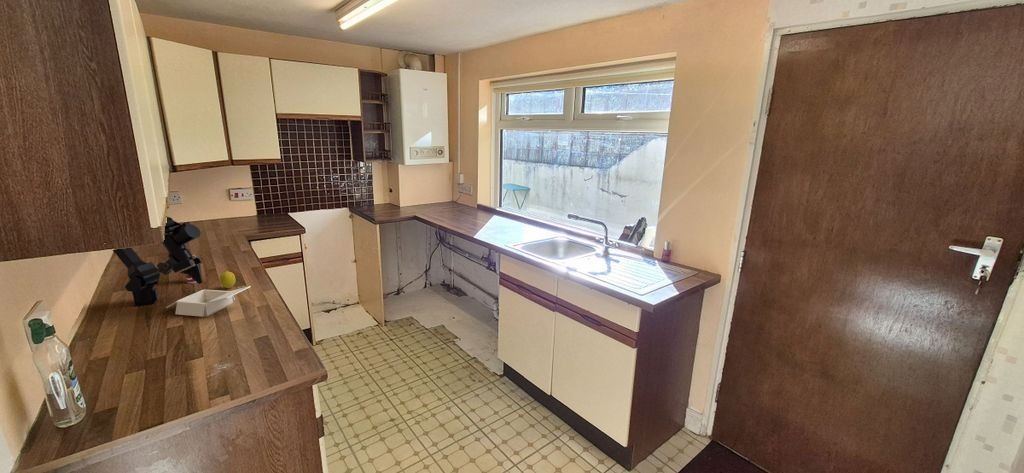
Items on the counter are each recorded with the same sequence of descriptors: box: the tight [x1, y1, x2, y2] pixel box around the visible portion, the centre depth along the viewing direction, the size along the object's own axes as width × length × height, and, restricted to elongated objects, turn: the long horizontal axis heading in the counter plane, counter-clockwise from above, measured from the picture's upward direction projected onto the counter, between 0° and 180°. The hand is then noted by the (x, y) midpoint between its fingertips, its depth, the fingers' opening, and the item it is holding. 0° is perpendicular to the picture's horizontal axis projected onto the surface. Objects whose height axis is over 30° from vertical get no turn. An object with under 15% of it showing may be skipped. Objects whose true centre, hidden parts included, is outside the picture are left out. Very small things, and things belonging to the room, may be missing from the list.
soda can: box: [184, 254, 197, 284], centre depth 185 cm, size 5×5×12 cm
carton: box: [165, 289, 236, 317], centre depth 159 cm, size 17×15×5 cm
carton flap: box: [207, 285, 251, 303], centre depth 156 cm, size 1×12×9 cm
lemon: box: [219, 270, 237, 289], centre depth 178 cm, size 6×6×8 cm
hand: (200, 283), depth 160 cm, fingers closed
